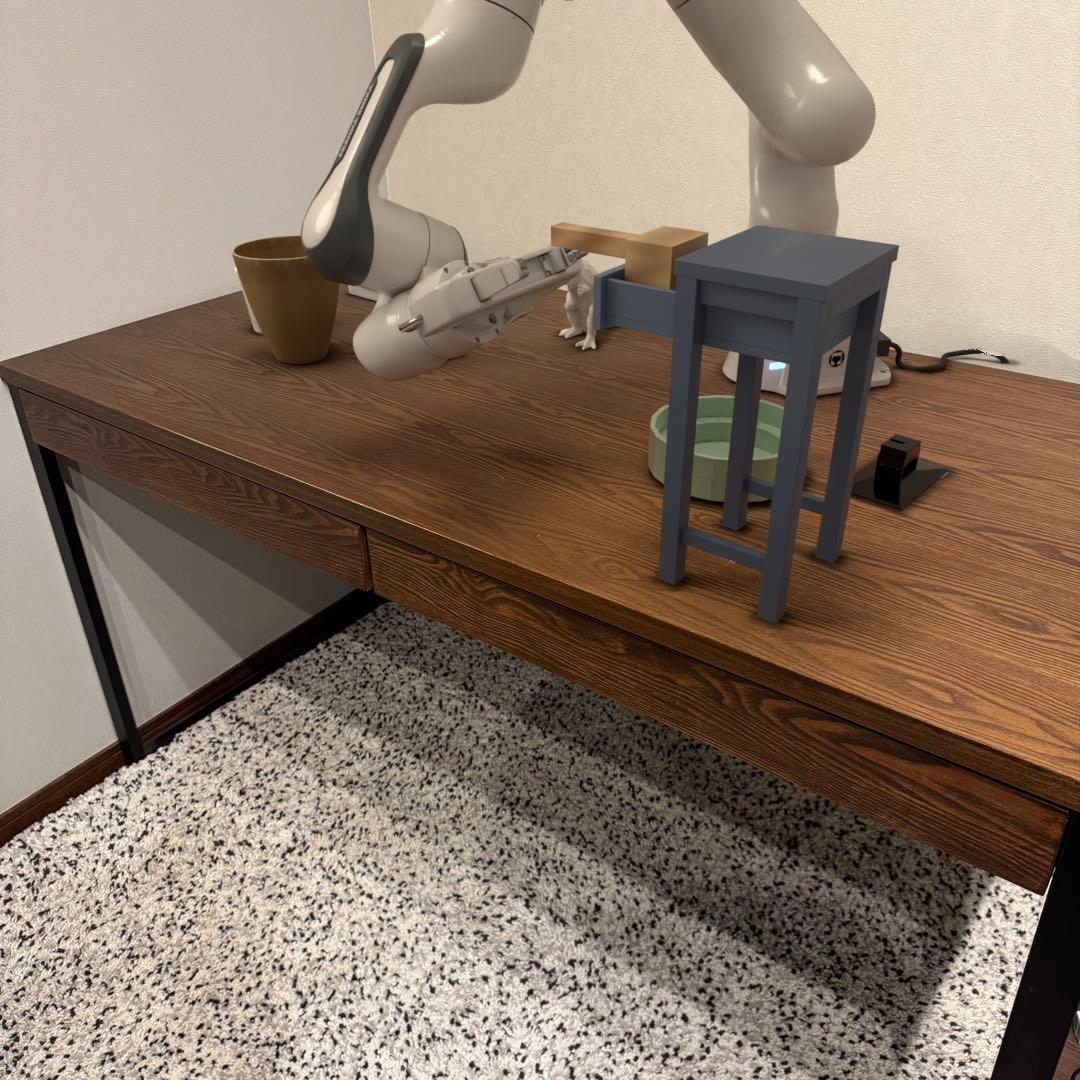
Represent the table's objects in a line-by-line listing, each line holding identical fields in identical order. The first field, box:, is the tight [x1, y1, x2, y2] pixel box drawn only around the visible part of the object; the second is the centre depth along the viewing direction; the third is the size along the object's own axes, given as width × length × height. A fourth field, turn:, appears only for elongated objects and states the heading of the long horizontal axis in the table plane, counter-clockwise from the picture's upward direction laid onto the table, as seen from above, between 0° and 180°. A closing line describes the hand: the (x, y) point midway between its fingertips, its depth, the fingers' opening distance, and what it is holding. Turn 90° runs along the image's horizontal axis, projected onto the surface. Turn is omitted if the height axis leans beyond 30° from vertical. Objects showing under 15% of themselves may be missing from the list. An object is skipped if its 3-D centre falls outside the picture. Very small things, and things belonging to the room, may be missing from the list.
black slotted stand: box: [851, 433, 948, 512], centre depth 102 cm, size 12×7×5 cm, turn 138°
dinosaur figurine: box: [558, 258, 616, 351], centre depth 142 cm, size 20×10×15 cm, turn 134°
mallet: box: [550, 221, 709, 291], centre depth 84 cm, size 14×6×6 cm, turn 52°
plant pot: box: [230, 234, 340, 365], centre depth 136 cm, size 15×15×16 cm
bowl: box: [647, 394, 812, 503], centre depth 105 cm, size 17×17×6 cm
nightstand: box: [593, 225, 900, 624], centre depth 84 cm, size 22×14×29 cm, turn 52°
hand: (553, 256), depth 88 cm, fingers open, 8 cm apart
